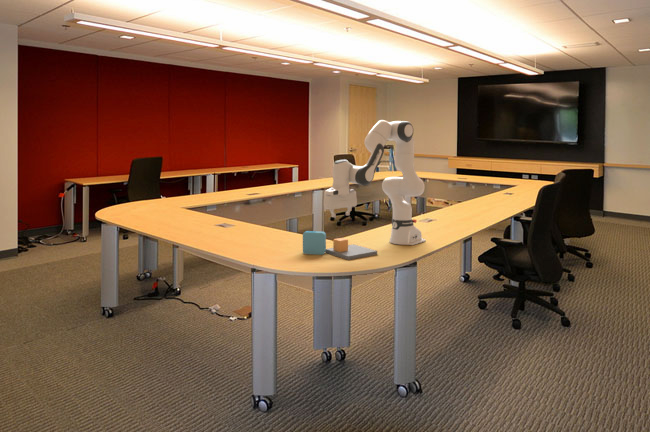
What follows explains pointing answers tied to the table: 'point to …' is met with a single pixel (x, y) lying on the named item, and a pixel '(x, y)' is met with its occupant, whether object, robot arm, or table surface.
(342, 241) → the orange cube
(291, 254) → the table surface
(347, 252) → the board
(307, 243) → the data package
